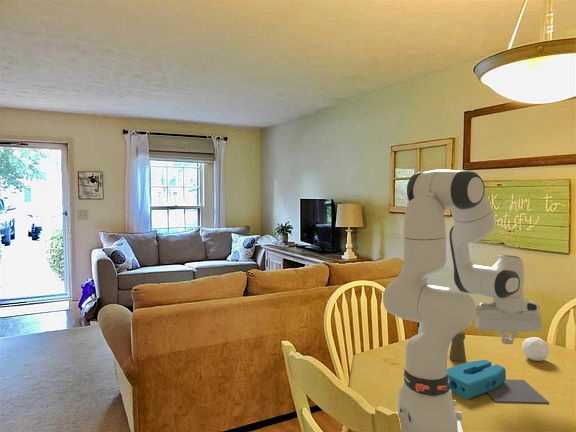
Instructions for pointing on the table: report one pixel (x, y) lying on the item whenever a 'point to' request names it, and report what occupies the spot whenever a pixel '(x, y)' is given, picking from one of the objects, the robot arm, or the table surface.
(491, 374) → the block
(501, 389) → the mat
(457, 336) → the cork
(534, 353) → the white faceted ball
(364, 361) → the table surface
